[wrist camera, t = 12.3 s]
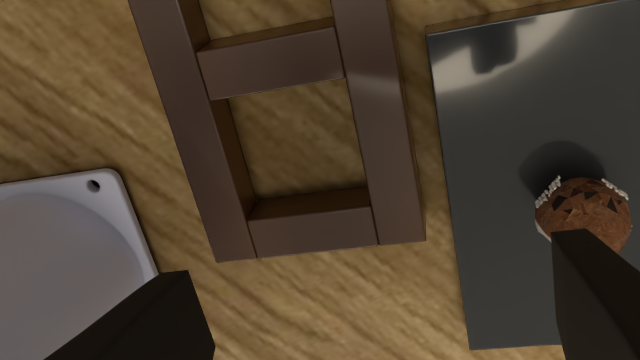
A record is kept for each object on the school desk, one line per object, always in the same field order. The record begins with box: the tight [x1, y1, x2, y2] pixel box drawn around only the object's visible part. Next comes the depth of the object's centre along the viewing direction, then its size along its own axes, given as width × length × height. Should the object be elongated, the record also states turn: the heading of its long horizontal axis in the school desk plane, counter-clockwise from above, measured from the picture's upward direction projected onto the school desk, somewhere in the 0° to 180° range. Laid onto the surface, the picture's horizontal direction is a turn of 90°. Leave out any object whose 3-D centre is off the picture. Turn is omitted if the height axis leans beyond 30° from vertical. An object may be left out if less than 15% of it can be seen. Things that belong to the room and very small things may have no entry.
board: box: [425, 0, 640, 350], centre depth 20 cm, size 8×12×1 cm, turn 12°
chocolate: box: [535, 176, 632, 254], centre depth 17 cm, size 3×2×4 cm
